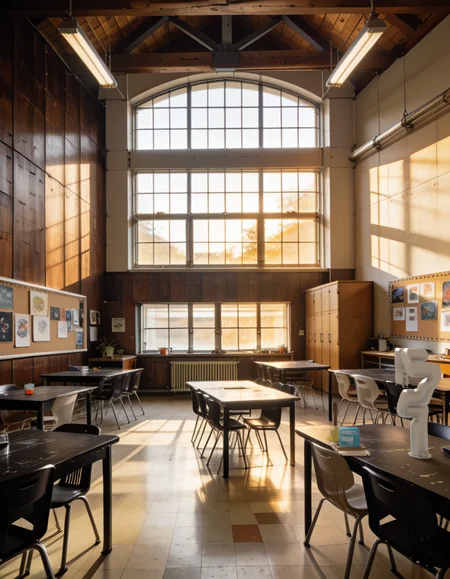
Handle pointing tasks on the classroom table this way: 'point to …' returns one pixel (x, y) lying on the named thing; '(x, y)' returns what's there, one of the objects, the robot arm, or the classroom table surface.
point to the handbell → (335, 430)
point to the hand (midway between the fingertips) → (401, 392)
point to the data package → (349, 437)
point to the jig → (350, 450)
